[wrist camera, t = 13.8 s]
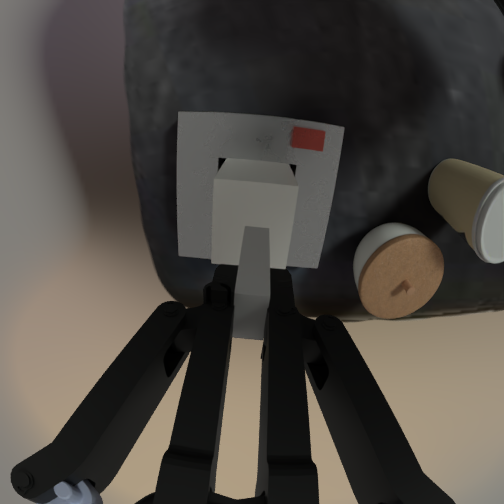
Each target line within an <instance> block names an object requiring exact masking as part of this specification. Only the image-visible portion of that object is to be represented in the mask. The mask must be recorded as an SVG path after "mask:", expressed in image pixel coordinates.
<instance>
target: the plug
mask: <svg viewBox="0 0 504 504" xmlns="http://www.w3.org/2000/svg"><path fill="white" fill-rule="evenodd" d="M298 189H299V186H298V183H297V181H296V179H295V177H294V174H293V172H292V170H291V168H290V165H289V164H287V163H278V162H269V161H259V160H248V159H235V158H227V159H226V160H225V162H224V163H223V165H222V166H221V168H220V169H219V171H218V173H217V174H216V176H215V177H214V185H213V212H212V253H211V263H212V264H229V265H239V260H240V253H241V247H242V241H243V234H244V228H245V226H251V227H261V228H269V240H270V268H277V269H286V264H287V258H288V252H289V246H290V240H291V234H292V228H293V221H294V215H295V209H296V202H297V196H298Z"/></svg>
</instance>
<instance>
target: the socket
mask: <svg viewBox="0 0 504 504" xmlns="http://www.w3.org/2000/svg"><path fill="white" fill-rule="evenodd" d="M344 128H345V127H342V126H338V125H334V124H328V123H323V122H317V121H310V120H304V119H296V118H289V117H281V116H272V115H262V114H250V113H236V112H215V111H181V112H178V133H177V228H178V252H179V256H184V257H194V258H205V259H211V253H212V212H213V185H214V177H215V176H216V174H217V173H218V171H219V169H220V168H221V166H222V158H235V159H248V160H259V161H269V162H278V163H287V164H293V166H292V172H293V174H294V177H295V179H296V181H297V183H298V186H299V189H298V196H297V202H296V209H295V215H294V221H293V228H292V234H291V240H290V246H289V252H288V258H287V264H286V266H294V267H306V268H318V264H319V260H320V256H321V251H322V247H323V242H324V238H325V233H326V229H327V224H328V219H329V214H330V209H331V204H332V199H333V194H334V188H335V183H336V178H337V172H338V166H339V160H340V154H341V148H342V141H343V135H344Z"/></svg>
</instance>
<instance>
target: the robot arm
mask: <svg viewBox="0 0 504 504" xmlns="http://www.w3.org/2000/svg"><path fill="white" fill-rule="evenodd" d="M494 2H495V3H496V4H497V6H498V7H499V9H500V11H501V12H502V14H503V15H504V0H494ZM292 287H293V286H292V277H291V274H290V273H289V272H288V270H287V269H277V268H270V240H269V228H261V227H251V226H245V228H244V234H243V241H242V247H241V253H240V260H239V265H229V264H220V265H219V266H218V267H217V268H216V270H215V273H214V277H213V281H212V282H211V283H209V284H207V285H206V286H205V287H204V289H203V294H204V304H202V305H201V306H198V307H194V308H187V309H186V308H185V306H184V305H183V304H181V303H179V302H176V301H167V302H164V303H162V304H161V305H159V306H158V307H157V308H156V310H155V311H154V312H153V313H152V314H151V316H150V317H149V318H148V319H147V321H146V322H145V323H144V324H143V325H142V327H141V328H140V329H139V330H138V331H137V333H136V334H135V335H134V336H133V338H132V339H131V340H130V341H129V343H128V344H127V345H126V346H125V347H124V349H123V350H122V351H121V353H120V354H119V355H118V356H117V357H116V359H115V360H114V361H113V363H112V364H111V365H110V366H109V368H108V369H107V370H106V371H105V373H104V374H103V375H102V377H101V378H100V379H99V380H98V382H97V383H96V384H95V386H94V387H93V388H92V390H91V391H90V392H89V394H88V395H87V396H86V397H85V399H84V400H83V401H82V403H81V404H80V405H79V407H78V408H77V409H76V411H75V412H74V413H73V415H72V416H71V417H70V419H69V420H68V421H67V423H66V424H65V425H64V427H63V428H62V430H61V431H60V433H59V434H58V435H57V436H56V438H55V439H54V441H53V442H52V443H50V444H49V445H47V446H46V447H44V448H43V449H41V450H40V451H38V452H36V453H35V454H33V455H32V456H30V457H28V458H27V459H25V460H24V461H22V462H20V463H19V464H17V465H16V466H15V467H14V468H13V469H12V472H11V483H12V485H13V488H14V489H15V491H16V492H17V493H18V494H19V495H21V496H22V497H23V498H26V499H28V500H30V501H32V502H35V503H36V504H103V501H102V498H101V496H100V493H101V492H102V491H104V489H105V488H106V487H107V486H108V485H109V484H110V483H111V481H112V480H113V479H114V477H115V476H116V474H117V473H118V471H119V469H120V468H121V466H122V464H123V463H124V461H125V459H126V458H127V456H128V454H129V453H130V451H131V449H132V448H133V446H134V444H135V443H136V441H137V439H138V438H139V436H140V434H141V433H142V431H143V429H144V428H145V426H146V424H147V423H148V421H149V419H150V418H151V416H152V414H153V413H154V411H155V409H156V408H157V406H158V404H159V403H160V401H161V400H162V398H163V396H164V394H165V393H166V391H167V390H168V388H169V386H170V385H171V383H172V381H173V379H174V378H175V376H176V375H177V373H178V371H179V370H180V368H181V366H182V365H183V363H184V361H185V360H186V358H187V356H188V355H189V352H191V355H190V359H189V363H188V367H187V371H186V375H185V379H184V383H183V387H182V392H181V397H180V400H179V405H178V409H177V413H176V418H175V423H174V427H173V431H172V436H171V441H170V445H169V448H168V450H167V451H166V452H165V453H164V455H163V459H162V462H161V466H160V471H159V476H158V481H157V485H156V491H155V492H154V493H151V494H149V495H147V496H145V497H144V498H142V499H141V500H139V501H138V502H136V503H135V504H319V489H318V473H317V467H316V465H315V463H314V462H313V461H312V458H311V444H310V429H309V415H308V402H307V390H306V379H305V371H306V373H307V376H308V378H309V381H310V383H311V386H312V388H313V391H314V393H315V396H316V399H317V401H318V403H319V406H320V409H321V411H322V413H323V416H324V419H325V421H326V424H327V426H328V429H329V431H330V434H331V436H332V439H333V442H334V444H335V447H336V449H337V452H338V454H339V457H340V460H341V462H342V465H343V467H344V470H345V472H346V475H347V477H348V480H349V483H350V485H351V488H352V490H353V493H354V495H355V497H356V499H357V502H358V504H455V502H454V501H453V499H451V498H450V497H449V496H448V495H447V494H446V493H445V492H444V491H442V489H440V488H439V487H438V486H437V485H436V484H435V483H433V481H432V480H431V479H429V477H427V476H426V475H425V474H424V473H423V471H422V469H421V467H420V465H419V463H418V461H417V459H416V457H415V455H414V453H413V451H412V449H411V447H410V445H409V443H408V441H407V439H406V437H405V435H404V433H403V431H402V429H401V427H400V425H399V423H398V421H397V419H396V418H395V416H394V414H393V412H392V410H391V408H390V406H389V405H388V402H387V401H386V399H385V397H384V395H383V393H382V391H381V390H380V388H379V386H378V384H377V382H376V380H375V379H374V377H373V375H372V373H371V371H370V370H369V368H368V366H367V364H366V363H365V361H364V359H363V357H362V356H361V354H360V352H359V350H358V348H357V347H356V345H355V343H354V342H353V340H352V338H351V336H350V335H349V333H348V331H347V330H346V328H345V326H344V325H343V323H342V322H341V320H340V319H338V318H337V317H335V316H332V315H321V316H319V317H318V318H316V320H313V319H310V318H307V317H305V316H303V315H301V314H300V313H299V312H298V310H297V308H296V307H295V303H294V294H293V288H292ZM232 337H234V338H244V339H255V340H263V338H264V342H263V347H262V353H261V359H262V374H261V402H260V404H261V405H260V429H259V451H258V473H257V483H256V489H255V497H253V498H246V499H239V500H236V499H232V498H229V497H226V496H223V495H220V494H217V493H215V481H216V469H217V461H218V452H219V443H220V435H221V427H222V417H223V409H224V402H225V393H226V385H227V376H228V369H229V361H230V352H231V343H232Z"/></svg>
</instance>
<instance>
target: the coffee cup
mask: <svg viewBox="0 0 504 504" xmlns="http://www.w3.org/2000/svg"><path fill="white" fill-rule="evenodd" d="M428 197H429V200H430V202H431V205H432V206H433V208H434V209H435V210H436V211H437V212H438V213H439V214H440V215H441V216H442V217H443V218H444V219H445V220H446V221H447V222H448V223H449V224H450V225H451V226H452V227H453V228H454V229H455V230H456V231H457V232H458V233H459V234H460V236H461V237H462V238H463V239H464V240H465V241H466V242H467V243H468V244H469V245H470V246H471V247H472V248H473V249H474V250H475V252H476V254H477V255H478V257H479V258H480V259H482V260H483V261H485V262H489V263H500V262H503V261H504V176H503V175H501V174H499V173H496V172H493V171H491V170H488V169H485V168H483V167H480V166H477V165H474V164H471V163H468V162H465V161H461V160H457V159H446V160H443V161H442V162H440V163H439V164H438V165H437V166H436V167H435V168H434V170H433V171H432V173H431V176H430V179H429V183H428Z"/></svg>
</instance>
